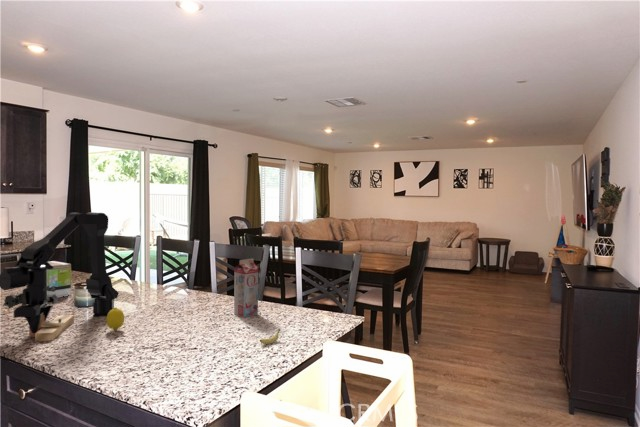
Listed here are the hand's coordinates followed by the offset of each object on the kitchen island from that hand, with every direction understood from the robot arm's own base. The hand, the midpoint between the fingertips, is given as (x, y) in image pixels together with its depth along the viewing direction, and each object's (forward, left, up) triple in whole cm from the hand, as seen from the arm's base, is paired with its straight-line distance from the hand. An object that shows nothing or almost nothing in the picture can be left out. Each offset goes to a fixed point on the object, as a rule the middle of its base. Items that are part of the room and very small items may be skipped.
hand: (37, 330), depth 141 cm
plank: (-4, -3, -1) cm, 6 cm away
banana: (-75, +21, -2) cm, 78 cm away
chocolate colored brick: (-3, 0, -1) cm, 3 cm away
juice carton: (-69, -13, -2) cm, 70 cm away
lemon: (-24, 0, -2) cm, 24 cm away
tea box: (+16, -58, -2) cm, 61 cm away
